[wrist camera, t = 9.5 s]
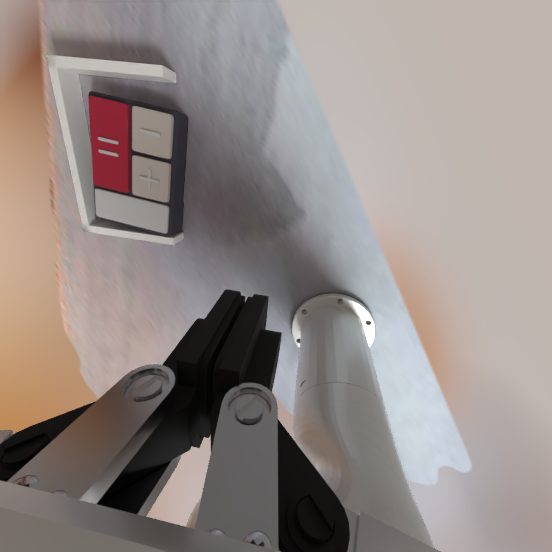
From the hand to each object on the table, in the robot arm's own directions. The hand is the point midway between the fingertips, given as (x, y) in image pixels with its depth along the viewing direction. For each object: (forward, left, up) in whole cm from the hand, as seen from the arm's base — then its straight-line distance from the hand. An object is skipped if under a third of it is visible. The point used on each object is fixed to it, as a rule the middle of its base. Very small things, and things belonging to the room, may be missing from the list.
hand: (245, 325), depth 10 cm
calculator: (+2, +21, -28) cm, 35 cm away
